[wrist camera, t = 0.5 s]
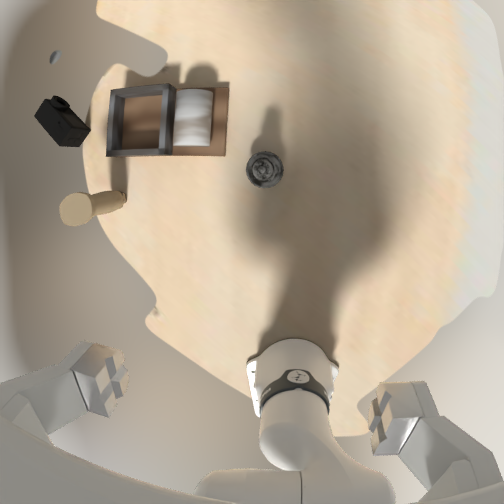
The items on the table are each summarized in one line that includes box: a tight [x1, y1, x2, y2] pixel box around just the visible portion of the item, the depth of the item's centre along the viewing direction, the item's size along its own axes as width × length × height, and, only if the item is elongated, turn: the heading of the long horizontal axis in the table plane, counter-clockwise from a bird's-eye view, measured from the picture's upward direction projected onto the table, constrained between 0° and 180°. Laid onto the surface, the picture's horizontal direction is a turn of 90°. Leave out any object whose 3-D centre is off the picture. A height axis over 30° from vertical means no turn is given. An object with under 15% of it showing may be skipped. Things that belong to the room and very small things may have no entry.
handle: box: [60, 191, 126, 226], centre depth 49 cm, size 5×6×15 cm
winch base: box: [106, 84, 229, 157], centre depth 49 cm, size 12×20×7 cm, turn 87°
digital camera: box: [35, 96, 91, 147], centre depth 50 cm, size 10×5×7 cm, turn 45°
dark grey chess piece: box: [246, 151, 283, 188], centre depth 47 cm, size 6×6×12 cm
